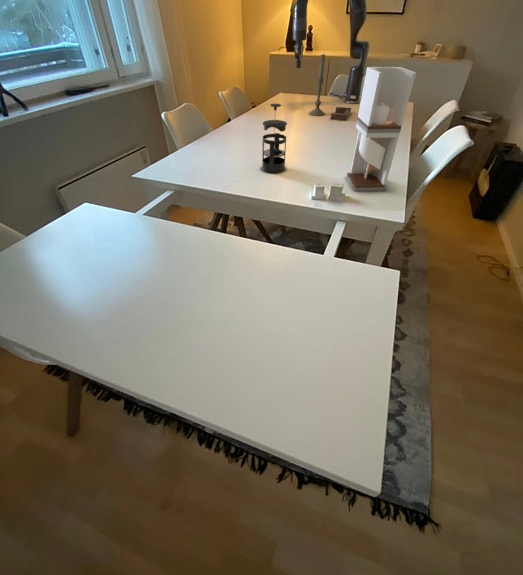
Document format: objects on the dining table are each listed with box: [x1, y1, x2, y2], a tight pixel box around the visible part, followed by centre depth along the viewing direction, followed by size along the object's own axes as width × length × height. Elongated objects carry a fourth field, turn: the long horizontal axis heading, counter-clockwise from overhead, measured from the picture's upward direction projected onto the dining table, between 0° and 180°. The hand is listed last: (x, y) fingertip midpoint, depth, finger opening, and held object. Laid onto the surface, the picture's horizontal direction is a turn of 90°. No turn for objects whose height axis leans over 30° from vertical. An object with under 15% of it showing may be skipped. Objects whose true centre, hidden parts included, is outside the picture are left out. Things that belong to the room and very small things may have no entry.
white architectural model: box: [346, 66, 417, 192], centre depth 105 cm, size 11×11×35 cm
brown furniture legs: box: [330, 106, 352, 122], centre depth 188 cm, size 9×18×3 cm, turn 160°
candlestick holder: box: [309, 52, 326, 117], centre depth 183 cm, size 9×9×30 cm
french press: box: [261, 103, 288, 174], centre depth 120 cm, size 12×9×23 cm
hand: (298, 68), depth 181 cm, fingers closed
